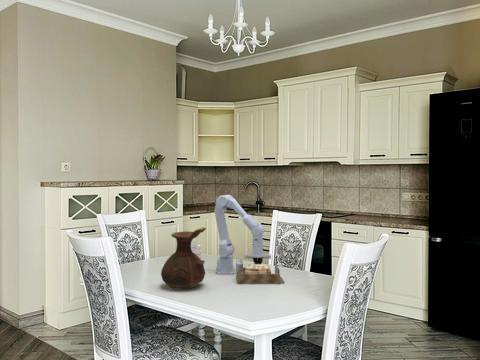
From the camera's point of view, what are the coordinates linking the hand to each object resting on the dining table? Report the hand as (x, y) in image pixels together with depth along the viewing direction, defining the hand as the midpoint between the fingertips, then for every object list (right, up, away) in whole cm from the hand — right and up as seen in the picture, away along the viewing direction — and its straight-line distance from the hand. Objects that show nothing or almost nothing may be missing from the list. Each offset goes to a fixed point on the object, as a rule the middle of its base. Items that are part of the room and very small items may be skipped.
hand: (257, 271), depth 249 cm
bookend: (+11, -3, -11) cm, 16 cm away
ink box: (-39, -2, +31) cm, 49 cm away
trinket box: (-1, -3, -8) cm, 8 cm away
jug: (-38, -3, -24) cm, 45 cm away
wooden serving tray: (0, -2, -12) cm, 12 cm away
